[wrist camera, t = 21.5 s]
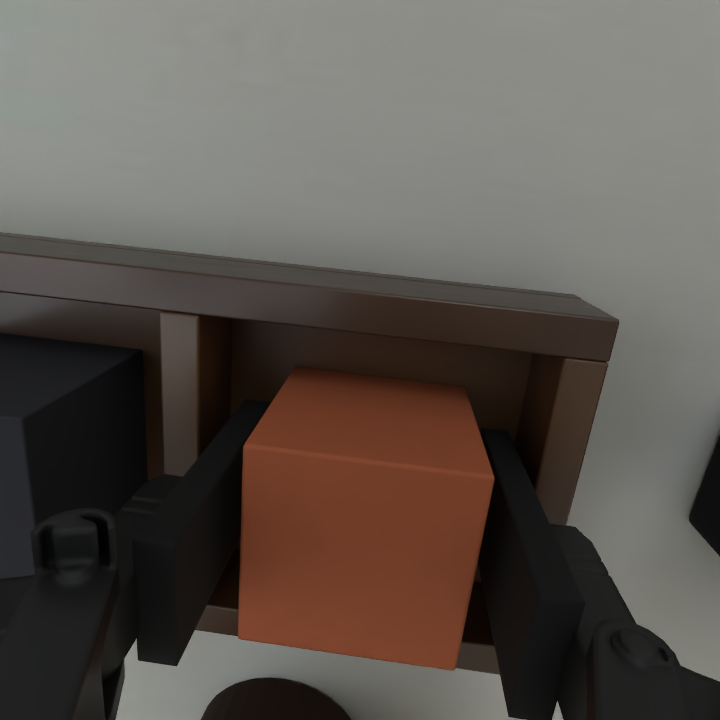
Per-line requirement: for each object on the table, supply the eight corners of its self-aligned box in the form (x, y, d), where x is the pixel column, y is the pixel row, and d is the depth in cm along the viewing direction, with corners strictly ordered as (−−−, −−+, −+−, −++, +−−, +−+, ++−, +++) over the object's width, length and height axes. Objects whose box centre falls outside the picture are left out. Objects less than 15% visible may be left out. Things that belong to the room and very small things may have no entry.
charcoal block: (-19, 330, 15) (-210, 389, 10) (143, 348, 15) (21, 418, 10) (2, 475, 17) (-157, 585, 12) (149, 494, 17) (46, 614, 12)
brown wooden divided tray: (-106, 220, 15) (-230, 225, 12) (575, 295, 14) (621, 319, 11) (-51, 520, 18) (-139, 581, 15) (505, 597, 17) (527, 679, 14)
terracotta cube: (294, 365, 15) (241, 444, 10) (466, 386, 14) (496, 476, 10) (285, 512, 16) (236, 640, 12) (440, 533, 16) (455, 672, 11)
